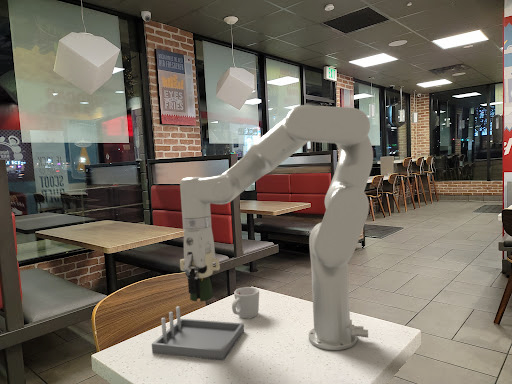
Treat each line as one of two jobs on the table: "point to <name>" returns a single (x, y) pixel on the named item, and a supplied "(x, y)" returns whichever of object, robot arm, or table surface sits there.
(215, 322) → the dish rack
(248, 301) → the cup
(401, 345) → the table surface
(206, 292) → the character mug
